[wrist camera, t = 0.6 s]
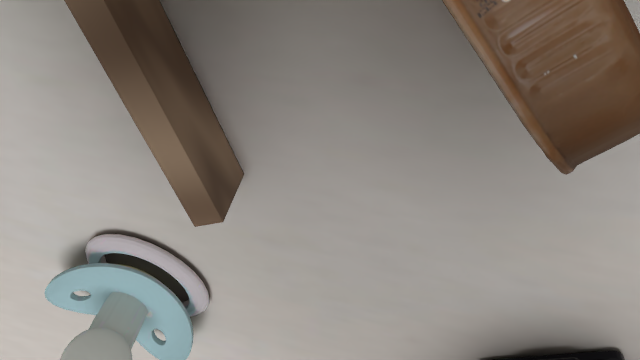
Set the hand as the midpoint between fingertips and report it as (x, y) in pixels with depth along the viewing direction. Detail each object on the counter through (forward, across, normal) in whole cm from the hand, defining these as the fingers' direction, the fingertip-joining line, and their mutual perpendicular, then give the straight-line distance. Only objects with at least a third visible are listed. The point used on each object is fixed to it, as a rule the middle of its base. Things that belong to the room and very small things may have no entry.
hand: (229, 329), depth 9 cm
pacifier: (+14, +9, +14) cm, 22 cm away
